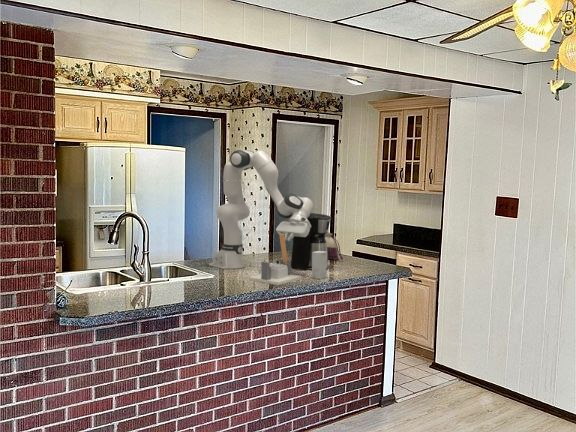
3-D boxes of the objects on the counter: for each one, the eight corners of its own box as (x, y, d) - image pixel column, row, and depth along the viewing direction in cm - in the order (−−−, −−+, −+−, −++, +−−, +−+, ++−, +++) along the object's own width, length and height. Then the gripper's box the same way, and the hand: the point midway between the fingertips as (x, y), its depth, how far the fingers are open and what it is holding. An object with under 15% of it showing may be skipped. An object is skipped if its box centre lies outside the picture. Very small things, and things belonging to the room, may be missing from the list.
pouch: (309, 258, 374) (309, 230, 372) (315, 256, 381) (315, 229, 379) (341, 262, 361) (342, 233, 359) (347, 260, 367) (348, 232, 366)
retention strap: (283, 263, 307) (283, 262, 307) (287, 263, 305) (288, 263, 305) (279, 234, 302) (279, 233, 302) (283, 234, 300) (284, 234, 300)
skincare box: (320, 279, 303) (321, 252, 301) (310, 278, 306) (311, 251, 304) (327, 277, 310) (327, 251, 309) (317, 275, 313) (318, 250, 312)
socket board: (248, 279, 296) (249, 260, 295) (273, 274, 314) (273, 255, 313) (278, 285, 285) (278, 264, 284) (301, 278, 302) (302, 259, 302)
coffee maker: (332, 271, 328) (334, 215, 325) (279, 271, 324) (280, 214, 321) (325, 264, 350) (326, 212, 347) (275, 264, 346) (276, 211, 343)
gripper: (280, 216, 316) (269, 234, 309) (309, 219, 305) (299, 238, 298) (284, 223, 320) (274, 241, 313) (313, 226, 309) (303, 245, 302)
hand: (286, 240), depth 305 cm, fingers closed
